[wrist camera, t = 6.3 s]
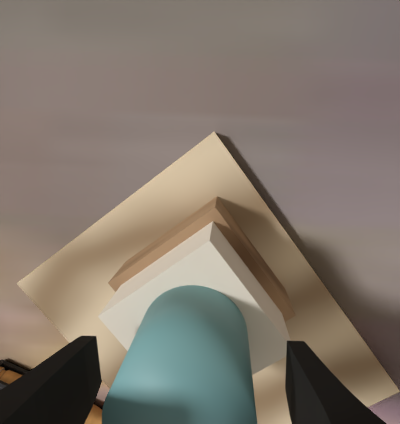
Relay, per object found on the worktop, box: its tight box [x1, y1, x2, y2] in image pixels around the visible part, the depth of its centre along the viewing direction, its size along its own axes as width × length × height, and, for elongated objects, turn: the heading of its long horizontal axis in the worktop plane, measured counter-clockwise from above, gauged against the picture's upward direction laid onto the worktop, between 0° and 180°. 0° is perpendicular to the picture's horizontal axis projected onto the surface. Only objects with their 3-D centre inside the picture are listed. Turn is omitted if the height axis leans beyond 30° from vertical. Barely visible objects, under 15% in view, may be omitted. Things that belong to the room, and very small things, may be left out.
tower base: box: [108, 197, 296, 322], centre depth 18 cm, size 7×7×3 cm
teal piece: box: [102, 285, 257, 424], centre depth 11 cm, size 4×4×4 cm
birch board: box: [17, 132, 400, 424], centre depth 20 cm, size 20×16×1 cm
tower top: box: [98, 221, 291, 375], centre depth 15 cm, size 6×6×3 cm
